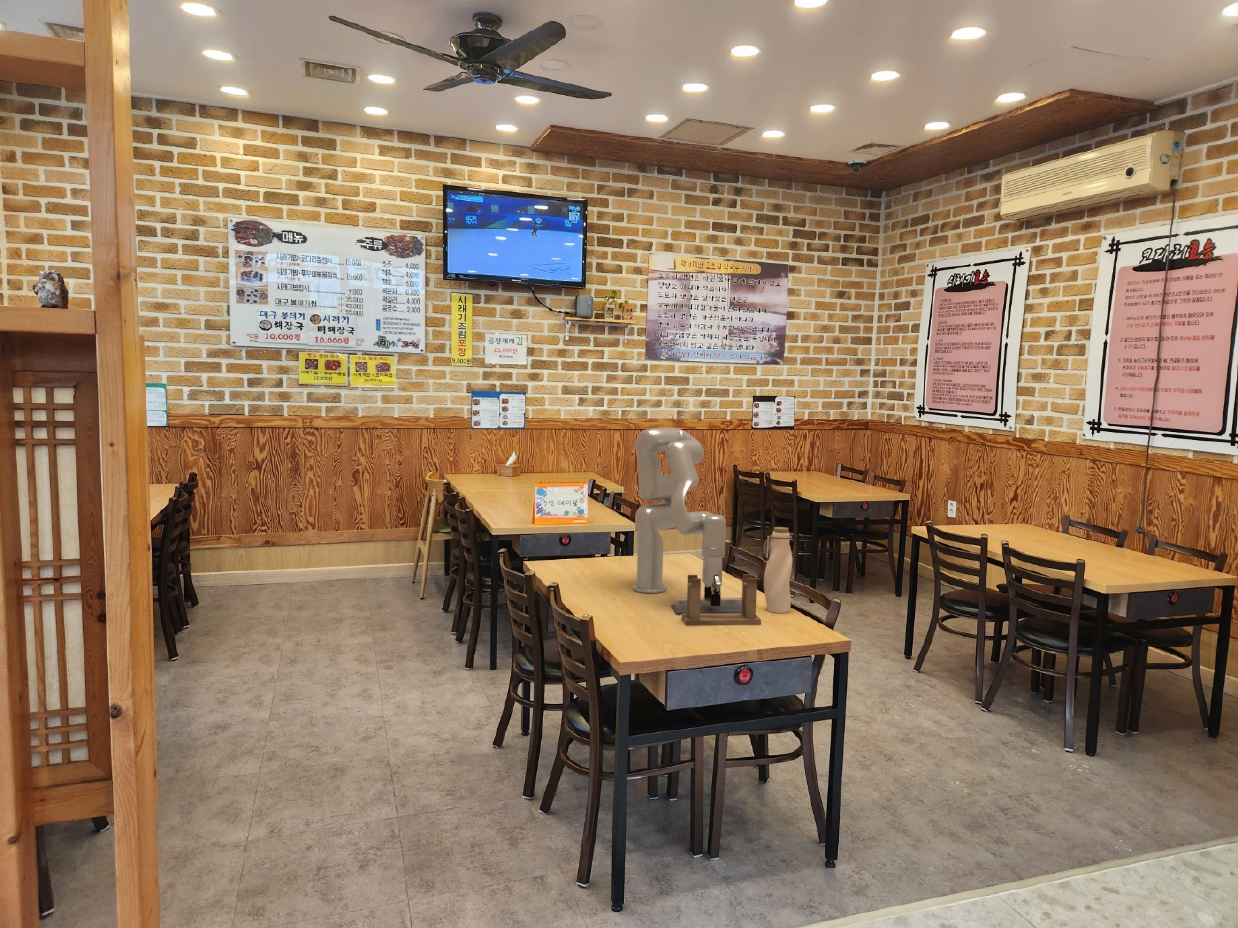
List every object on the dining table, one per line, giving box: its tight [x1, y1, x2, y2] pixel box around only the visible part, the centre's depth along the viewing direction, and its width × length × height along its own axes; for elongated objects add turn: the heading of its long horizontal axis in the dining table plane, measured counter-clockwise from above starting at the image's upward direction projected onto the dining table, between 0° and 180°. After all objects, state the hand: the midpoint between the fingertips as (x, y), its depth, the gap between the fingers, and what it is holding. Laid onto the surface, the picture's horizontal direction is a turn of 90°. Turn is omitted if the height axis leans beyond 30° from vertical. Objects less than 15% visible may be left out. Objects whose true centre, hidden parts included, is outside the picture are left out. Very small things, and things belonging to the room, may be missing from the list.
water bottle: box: [762, 526, 793, 614], centre depth 266 cm, size 10×9×28 cm
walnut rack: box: [681, 573, 762, 626], centre depth 252 cm, size 8×24×14 cm, turn 96°
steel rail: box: [675, 597, 742, 609], centre depth 266 cm, size 3×24×3 cm, turn 96°
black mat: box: [670, 603, 742, 616], centre depth 266 cm, size 10×26×1 cm, turn 96°
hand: (712, 601), depth 266 cm, fingers open, 9 cm apart
